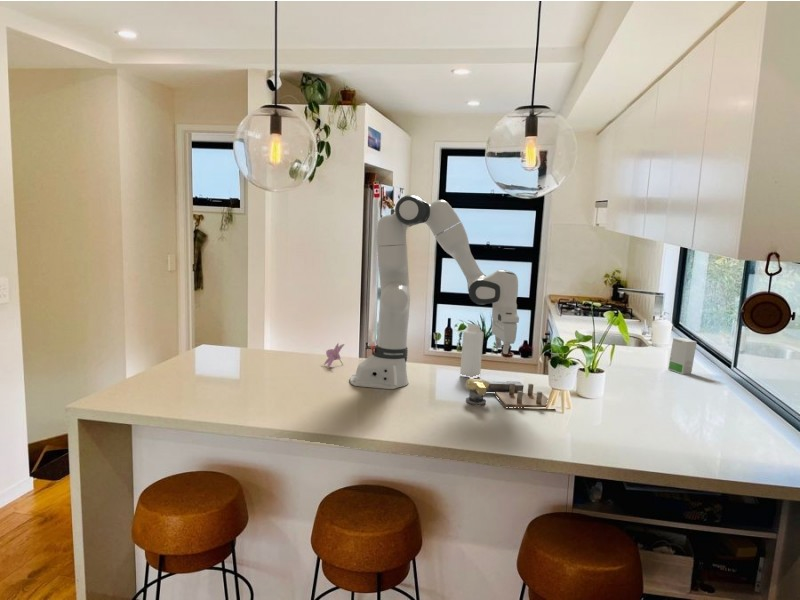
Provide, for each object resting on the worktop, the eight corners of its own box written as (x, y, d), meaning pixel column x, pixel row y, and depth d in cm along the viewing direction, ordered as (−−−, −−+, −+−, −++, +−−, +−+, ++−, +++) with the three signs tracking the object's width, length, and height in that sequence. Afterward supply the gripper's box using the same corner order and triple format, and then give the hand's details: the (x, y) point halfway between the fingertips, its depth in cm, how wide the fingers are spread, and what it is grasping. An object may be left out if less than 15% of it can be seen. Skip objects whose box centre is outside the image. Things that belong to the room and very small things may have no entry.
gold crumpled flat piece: (463, 383, 204) (464, 377, 204) (485, 384, 205) (485, 378, 204) (470, 394, 192) (471, 387, 192) (493, 394, 193) (494, 388, 193)
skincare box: (667, 369, 268) (671, 337, 266) (677, 369, 271) (681, 337, 269) (682, 374, 261) (687, 341, 259) (692, 373, 264) (697, 340, 262)
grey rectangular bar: (472, 394, 211) (473, 383, 210) (469, 390, 216) (470, 379, 215) (522, 395, 212) (523, 385, 212) (518, 391, 217) (519, 381, 217)
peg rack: (505, 408, 196) (506, 393, 195) (494, 395, 210) (496, 381, 209) (555, 409, 198) (557, 394, 197) (542, 397, 212) (543, 383, 211)
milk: (471, 379, 230) (475, 326, 227) (459, 376, 234) (463, 323, 231) (480, 377, 234) (484, 324, 231) (468, 374, 239) (472, 322, 235)
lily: (327, 363, 246) (318, 345, 242) (352, 354, 245) (344, 336, 241) (326, 379, 235) (317, 360, 231) (352, 370, 234) (344, 351, 230)
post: (468, 405, 197) (469, 391, 197) (464, 398, 204) (465, 385, 204) (487, 405, 198) (489, 391, 197) (483, 399, 205) (484, 385, 204)
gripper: (488, 309, 220) (486, 344, 222) (503, 318, 200) (500, 356, 202) (504, 309, 221) (502, 344, 223) (520, 318, 201) (517, 357, 202)
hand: (501, 350), depth 212 cm, fingers open, 8 cm apart
